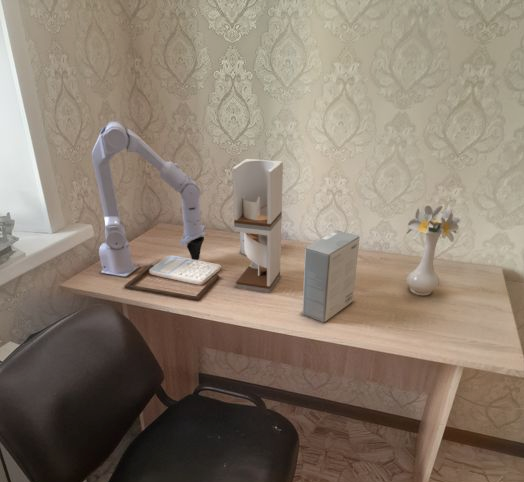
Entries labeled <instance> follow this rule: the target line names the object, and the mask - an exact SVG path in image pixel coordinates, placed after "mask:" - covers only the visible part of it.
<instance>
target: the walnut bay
mask: <svg viewBox="0 0 524 482" xmlns="http://www.w3.org/2000/svg"><path fill="white" fill-rule="evenodd" d="M153 266H155V265H154V264H150V265H149V266H148V267H146V268H145V269H144V270H142V271H141V272H140V273H139V274H137V275H136V276H135V277H133V278H132V279H131V280H129V281H128V282H127V283H126V284H124V285H123V286H124V289H127V290H131V291H138V292H144V293H149V294H155V295H160V296H167V297H172V298H178V299H183V300H190V301H195V302H198V301H200V299H202V298H203V296H204V295H206V293H207V292H208V291H209V290H210V289H211V288H212V287H213V286H214V284H216V282H218V281H219V279H220V277H221V276H220V275H219V274H215V275H214V276H213V278H212V279H211V280H210V281H209V282H208V283H207V284H206V285H205V286H204V287H203V289H201V290H200V291H199V292H198V294H197V295H191V294H185V293H179V292H175V291H174V292H173V291H168V290H163V289H162V290H161V289H157V288H150V287H146V286H145V287H144V286H139V285H135V284H136V283H137V282H138V281H140V280H141V279H142V278H143V277H145V276H146V275H147V274H148V273H149V270H150V269H151V268H152V267H153Z"/></svg>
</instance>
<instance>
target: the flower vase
mask: <svg viewBox="0 0 524 482" xmlns="http://www.w3.org/2000/svg"><path fill="white" fill-rule="evenodd" d="M442 209H443V206H442V205H440V206H437V207H436V208H435V209H434V210H433V208H432V206H431V205H426V206H425V207H424V210H423V211H424V212H423V211H422V210H420V207H419V208H418V207H417V209H416V212H415V218H412V219H410V220H409V222H408V228H409V229H408V230H407V232H406V234H409V233H410V232H412V231H415V232H414V233H413V235H412V239H413V240H415V239H417V237H419V236H420V235H421V234H425V244H424V248H423V252H422V256H421V259H420V262H419V263H418V265H417V267H416V268H415V269H413V270H411V272H409V274H407V277H406V284H407V286H408V287H409V290H410V292H411V293H412V294H414V295H416V296H421V297H423V296H429V295H431V294H432V292H433V291H435V290H436V289H438V287H439V286H440V278H439V276H438V273H436V271H435V269H434V260H435V259H434V258H435V253H436V248H437V245H438V241H439V239H440V237H441V238H442V239H446V237H447V238H448V240H449V241H450V242H451V243H453V242H454V235H453V233H454V234H457V233H458V232H457V231H458V229H459V225H458V223H460V221H461V219H460V218H459V217H457V216H454V214H453V207H452V206H448V207H447V208H446V209H444V210H443V213H442V212H441V211H442ZM429 224H430V225H431V226H432V227H431V226H429Z"/></svg>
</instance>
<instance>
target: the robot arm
mask: <svg viewBox="0 0 524 482" xmlns="http://www.w3.org/2000/svg"><path fill="white" fill-rule="evenodd" d="M125 149H126V152H127V153H137V155H139V156H140V157H142V158H143V159H144V160H145V161H146V162H148V163H149V164H150V165H151V166H152V167H154V168H155V169H157V171H158V175H159V178H160V179H161V180H162V181H164V182H165V183H166V185H168V186H169V187H170V188H172V189H173V190H174V191H175V192H178V193H179V194H180V197H181V213H182V214H181V215H182V223H183V234H182V237H181V239H180V240H179V242H180V243H179V244H180V247H186V248H187V250H188V252H189V255H190V259H193V260H199V259H200V256H201V248H202V245H203V243H204V240H205V236H206V231H207V230H206V225H204V224H202V217H201V214H202V213H201V204H200V198H201V193H202V192H201V191H200V188H199V186H198V185H197V183H196V181H195V180H194V179H193V178H192V177H191V176H190V175H189V174H188V175H187V174H186V173H185V172H184V171H182V169H181V168H180V165H179V163H177V162H175V163H174V162H173V161H165V160H164V159H163V158H162V157H161V156H160V155H159V154H158V153H157V152H155V150H154V149H153V148H152V147H150V145H148V144H147V143H146V142H145V141H144V140H143V139H142V138H141V137H140V136H139V135H137V134H136V133H135V132H134V131H133V130H131V129H129V128H126V126H125V125H124V124H123V123H122V122H121V121H117V120H112V121H109V122H107V124H106V125H104V126H103V127H102V128H101V130H100V132H99V134H98V137H97V139H96V142H95V143H94V146H93V148H92V151H91V160H92V164H93V170H94V175H95V179H96V184H97V189H98V194H99V198H100V204H101V208H102V212H103V218H104V242H103V243H101V244H100V246H99V249H98V256H99V261H100V264H101V265H100V266H101V272H100V273H101V274H105V275H111V276H118V277H124V278H127V277H128V276H130V275H131V274H132V273H134V272H135V271H136V270H138V269H139V268H140V266H139V265H136V264H133V257H132V253H131V246H130V241H129V240H128V239H127V235H126V225H125V223H123V221H122V219H121V214H120V210H119V204H118V201H117V195H116V190H115V189H116V188H115V183H114V178H113V174H112V167H111V163H110V161H111V160H112V159H113V158H114V157H115V155H116V154H118V153H120V152H123V150H125Z"/></svg>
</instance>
